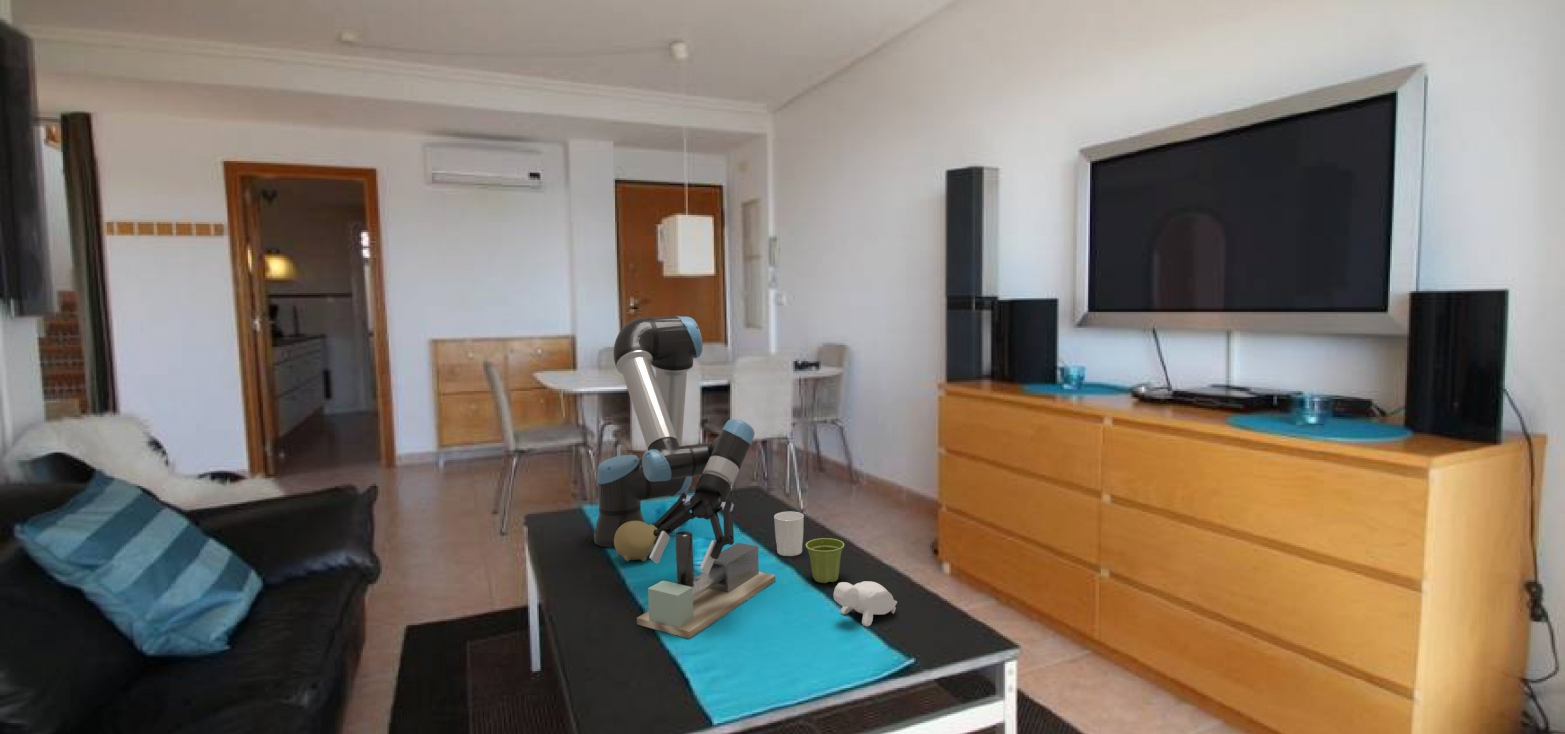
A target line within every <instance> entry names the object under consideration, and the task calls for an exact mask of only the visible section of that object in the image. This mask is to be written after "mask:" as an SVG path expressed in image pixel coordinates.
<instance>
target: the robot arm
mask: <svg viewBox="0 0 1565 734" xmlns="http://www.w3.org/2000/svg"><path fill="white" fill-rule="evenodd" d="M612 353H613V354H612V355H613V361H614V364H615V368H616V370H617V372H618V373H619V374H621V375H622V376H623V379H624V381H625V385H626V389H627V391H628V395H629V397H630V401H631V403H632V406H633V409H634V412H635V416H636V418H637V421H638V424H639V427H640V430H641V434H642V436H643V439H644V443H645V446H646V451H644V453H643V455H642V457H641V458H639V457H638V456H637V455H636V454H627V455H624V454H623V455H622V454H621V455H617V456H612V457H610V458H608V459H605V460H604V461H602V462H601V463H599V465H598V467H597V474H596V477H597V478H596V483H597V493H598V494H597V495H598V496H597V497H598V518H597V521H596V525H595V530H594V532H593V542H594V544H595V545H597V546H599V547H602V548H612V549H614V548H615V546H614V537H615V533H616V531H617V529H618V528H619V527H620V526H621V525H622V524H624V523H626V522H629V521H642V522H644V523H646V522H645V519H644V516H643V513H642V509H641V507H642V505H641V504H642V503H641V502H642V501H646V500H651V499H657V498H663V497H669V496H670V497H674V496H676V495H679V498H678V499H677V501H675V503H673V505H672V506H671V507H669V509H668V510H666V512H664V513H663V514H662V515H661V516H660V517H659V518H658V519H657V520H656V522H655V523H654V524H653V526H655V527H656V528H657V529H658V530H659V533H658V535H657V537H656V539H655V541H654V545H655V546H654V547H653V548H652V550H651V552H650V554H649V557H648V558H649V559H651V561H652V562H654V563H655V564H658V565H659V562H660V560H661V558H662V555H663V554H664V553H665V552H664V551H665V549H666V547H667V545H668V543H669V541H670V538H671V536H670V534H672V533H673V532H674V531H675V530H677V529H678V528H680V527H681V526H682V525H684V524H685V523H686V522H688V521H689V520H694V519H695V518H696V519H705V520H707V521H708V520H710V523H711V527H712V528H711V529H712V531H713V534H714V539H713V540H711V542H710V544H709V545H708V548H707V550H706V553H705V555H704V557H703V559H702V562H701V564H700V567H699V569H700V570H701V571H702V573H705V574H709V572H710V569H711V567H712V565H713V562H714V560H715V559H718V557H719V555H720V553H721V552H722V551H723V549H724V547H725V546H726V545H729V546H733V545H734V544H735V538H734V535H735V534H734V512H735V509H736V505H734V504H733V502H732V501H731V500H730V499H728V497H729V495H730V493H731V490H732V487H733V485H734V484H735V481H736V479H737V477H738V474H739V472H740V470H741V467H742V465H743V463H744V461H745V459H746V456H747V453H748V451H749V449H750V447H751V446H752V445H753V444H752V443H753V441H754V440H753V439H754V437H755V430H754V428H753V426H751V425H750V424H749V423H747V422H746V421H744V420H742V419H737V418H731V419H729V420H727V421H726V422H725V424H724V426H723V427H722V429H721V432H720V434H719V435H718V436H717V437H716V438H715V439H713V440H712V441H710V442H703V443H697V444H690V445H689V444H688V445H683V433H684V431H683V430H684V418H685V407H686V406H685V403H686V393H687V391H686V390H687V374H688V372H689V371H690V370H691V369H693V366H694V359H697V358H700V356H701V355H702V353H703V337H702V333H701V331H700V327H699V325H698V324H697V322H696V320H695V319H693V318H692V317H691V316H679V315H675V316H674V315H673V316H657V317H639V318H635V319H633V320H630V321H629V322H628V323H626V324H625V325H624V326H623V327H622V328H621V329H620V331H619V332H618V335H617V336H616V338H615V341H614V345H613V352H612ZM653 368H654V370H655V373H654V370H653ZM697 476H698V477H699V476H700V477H699V478H698V479H699V480H698V481H697V483H696V485H695V492H694V494H693V495H692V496H690V495H688V494H686V493H685V492H687V490H689V488H690V487H691V485H692V481H693V477H697ZM727 499H728V500H727ZM722 510H723V512H722V515H723V529H722V527H721V523H720V517H719V514H718V513H719V512H721V511H722Z"/></svg>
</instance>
